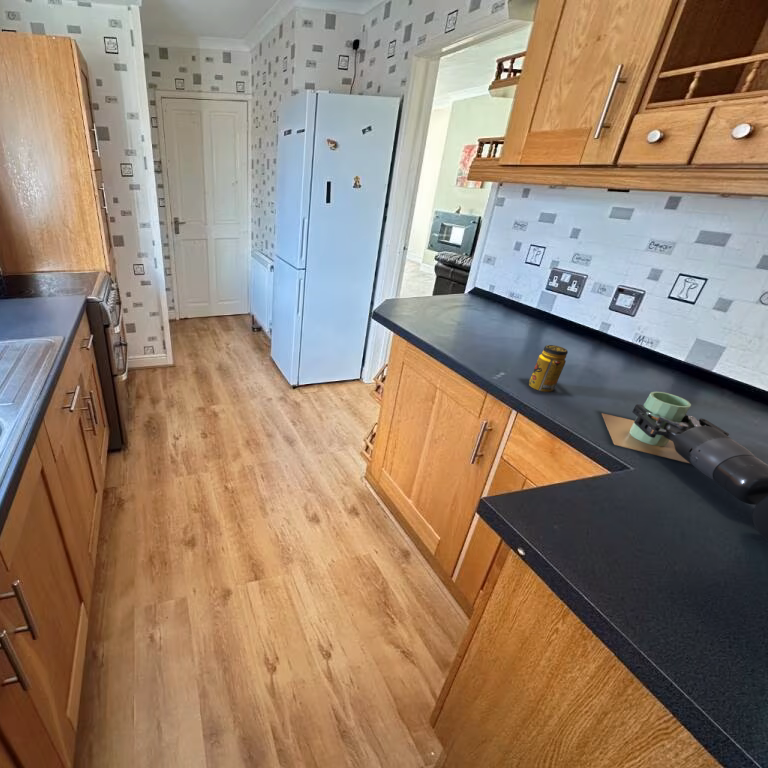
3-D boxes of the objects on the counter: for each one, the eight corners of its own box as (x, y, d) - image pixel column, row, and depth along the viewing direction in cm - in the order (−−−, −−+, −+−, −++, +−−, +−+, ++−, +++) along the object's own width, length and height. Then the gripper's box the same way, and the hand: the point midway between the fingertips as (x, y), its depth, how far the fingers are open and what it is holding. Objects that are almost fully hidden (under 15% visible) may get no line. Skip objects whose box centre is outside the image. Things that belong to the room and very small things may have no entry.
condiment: (521, 381, 117) (536, 342, 111) (552, 383, 116) (569, 344, 111) (534, 394, 110) (550, 353, 105) (567, 396, 110) (585, 355, 104)
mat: (678, 432, 96) (679, 430, 96) (703, 468, 84) (704, 467, 84) (600, 414, 102) (601, 413, 102) (613, 446, 90) (614, 444, 90)
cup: (661, 434, 94) (684, 396, 89) (671, 449, 89) (696, 410, 84) (626, 426, 97) (646, 388, 92) (633, 440, 92) (655, 401, 87)
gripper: (771, 443, 75) (697, 398, 90) (684, 434, 77) (626, 391, 91) (746, 475, 79) (679, 426, 93) (663, 466, 80) (611, 420, 95)
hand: (653, 409), depth 92 cm, fingers closed on cup, 6 cm apart
